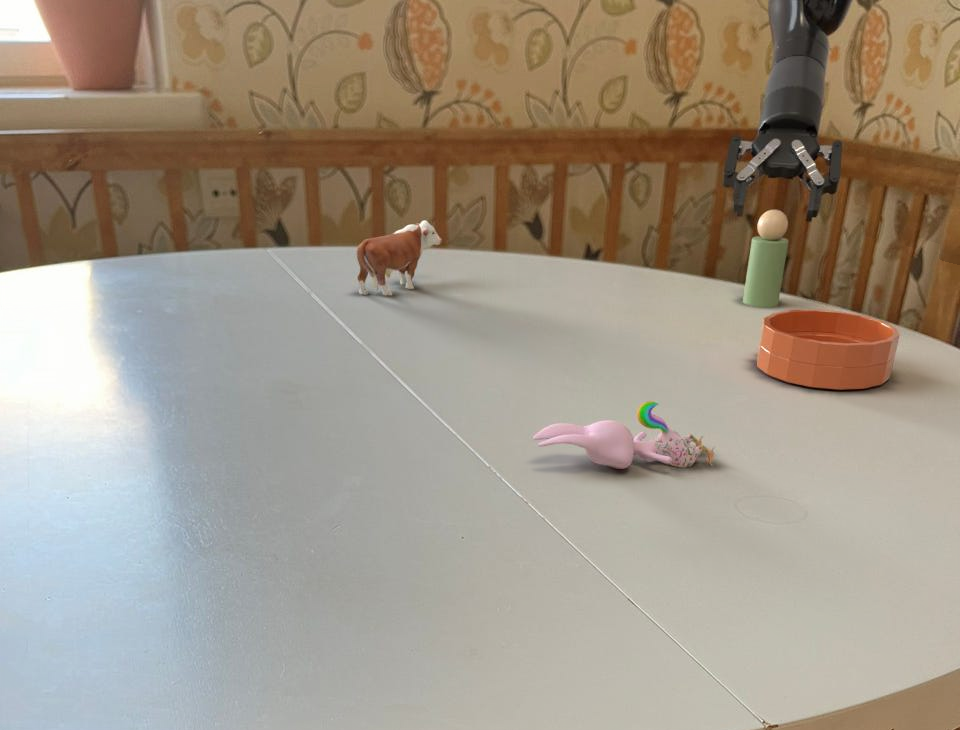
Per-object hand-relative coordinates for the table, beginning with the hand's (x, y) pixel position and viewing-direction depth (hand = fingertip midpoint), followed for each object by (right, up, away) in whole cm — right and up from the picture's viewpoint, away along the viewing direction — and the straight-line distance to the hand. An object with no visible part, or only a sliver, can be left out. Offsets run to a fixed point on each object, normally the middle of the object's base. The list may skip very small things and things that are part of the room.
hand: (774, 215), depth 131 cm
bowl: (-2, -26, -23) cm, 34 cm away
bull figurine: (-48, -8, +4) cm, 49 cm away
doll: (-1, -11, +2) cm, 11 cm away
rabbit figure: (-25, -39, -45) cm, 65 cm away
